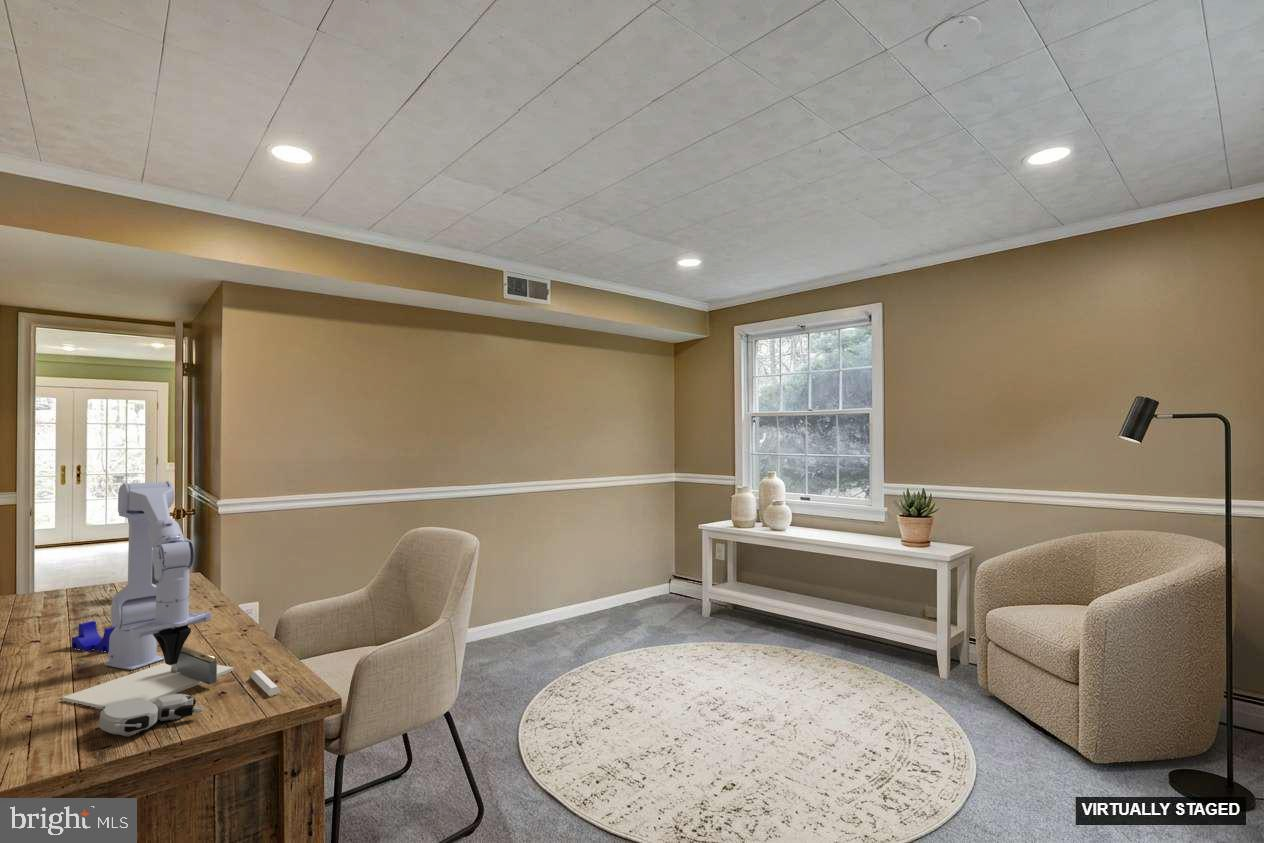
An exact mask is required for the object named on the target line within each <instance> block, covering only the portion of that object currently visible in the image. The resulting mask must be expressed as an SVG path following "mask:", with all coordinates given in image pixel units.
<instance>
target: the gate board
mask: <svg viewBox="0 0 1264 843" xmlns="http://www.w3.org/2000/svg"><path fill="white" fill-rule="evenodd" d="M234 670H235V667H233V666H228V665H221V664H217V678H220V677H221V675H222V676H224V675H227V674H229V672H230V673H232V672H234ZM231 671H232V672H231ZM200 684H205V683H204V682H201V681H199V680H196V679H194V678H191V677H189V676H186V675H184V674H181V673H179V672H178V673H171V665H168V664H165V662H162V663H159V664H158V665H153V666H151V667H148V668H144V669H142V670H138V671H137V672H133V673H131V674H128V675H124V676H121V677H118V678H115V679H112V680H109V681H106V682H103V683H100V684H97V685H94V686H92V687H88V688H86V689H82V690H79V691H76V692H74V693H73V692H72V693H70V694H68V695H64V696H62V697H61V701H62V700H65V701H69V702H74V703H79V704H83V705H87V706H91V707H90V708H92V707H97V706H108V705H110V704H114V703H119V702H124V701H128V700H133V699H143V700H147V701H150V702H152V703H154V702H155V701H156V700H157V699H158V698H161V697H164V696H168V695H172V694H176V693H178V694H179V693H180V692H182V691H185V690H188V689H191V688H194V687H195V686H198V685H200ZM69 702H68V703H69ZM74 703H73V704H74ZM83 705H82V706H83ZM87 706H86V707H87ZM101 709H104V708H101ZM101 709H100V710H101Z"/></svg>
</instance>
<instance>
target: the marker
mask: <svg viewBox="0 0 1264 843" xmlns="http://www.w3.org/2000/svg"><path fill="white" fill-rule="evenodd" d="M250 678H251V679H252V680H253V682H254V683H255V684H256V685H258V687H259V688H261V689H262V690H263V692H264V693H265V694H267V696H268V697H270V695H274V694H277V693H279V694H280V693H281V689H280V687H279V686H277V684H275V683H274V681H272V680H271V679H270V678H269V677H268V676H267V675H266V674H265V673H264V672H263V671H262V670H260V669H258V670H254V671H253V672H252V673H251V675H250Z"/></svg>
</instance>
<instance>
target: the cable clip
mask: <svg viewBox="0 0 1264 843" xmlns="http://www.w3.org/2000/svg"><path fill="white" fill-rule="evenodd" d="M114 629H115V627H114V626H111V627H107V628H104V631H103V632H104V633H103V636H102V637H101V636H100V633H99V632H98V629H97V622H96V621H95V620H90V621H86V622H82V623H78V635H77V636H73V637H71V648H76V649H80V650H84V651H87V652H90V651H89V650H91V651H96V650H99V651H98V652H100V651H103V652H102V653H105V652H104V651H106V652H109V638H110V635H111V633H112V631H113V630H114ZM71 648H70V649H71ZM92 649H94V650H92ZM80 650H79V651H80ZM84 651H83V652H84Z"/></svg>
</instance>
